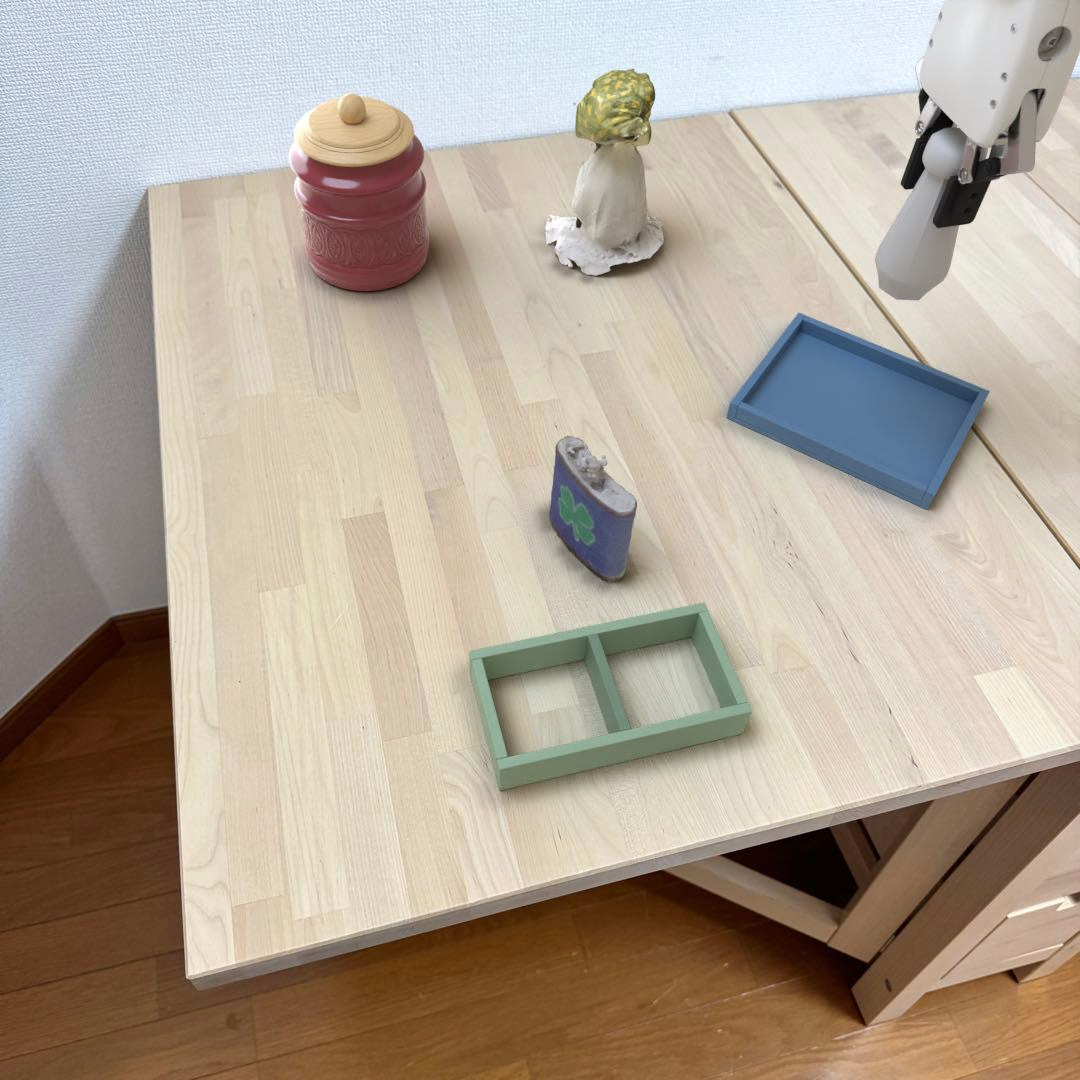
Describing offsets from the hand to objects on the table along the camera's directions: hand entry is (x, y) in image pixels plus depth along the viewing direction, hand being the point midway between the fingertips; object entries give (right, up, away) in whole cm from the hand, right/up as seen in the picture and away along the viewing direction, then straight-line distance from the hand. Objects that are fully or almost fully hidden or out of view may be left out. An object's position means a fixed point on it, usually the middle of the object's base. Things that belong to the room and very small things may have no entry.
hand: (936, 202), depth 76 cm
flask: (-26, -26, +8) cm, 38 cm away
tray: (0, -13, +19) cm, 23 cm away
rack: (-25, -38, -1) cm, 45 cm away
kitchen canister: (-48, +5, +31) cm, 57 cm away
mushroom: (-23, +7, +34) cm, 41 cm away
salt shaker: (0, -5, +6) cm, 8 cm away
